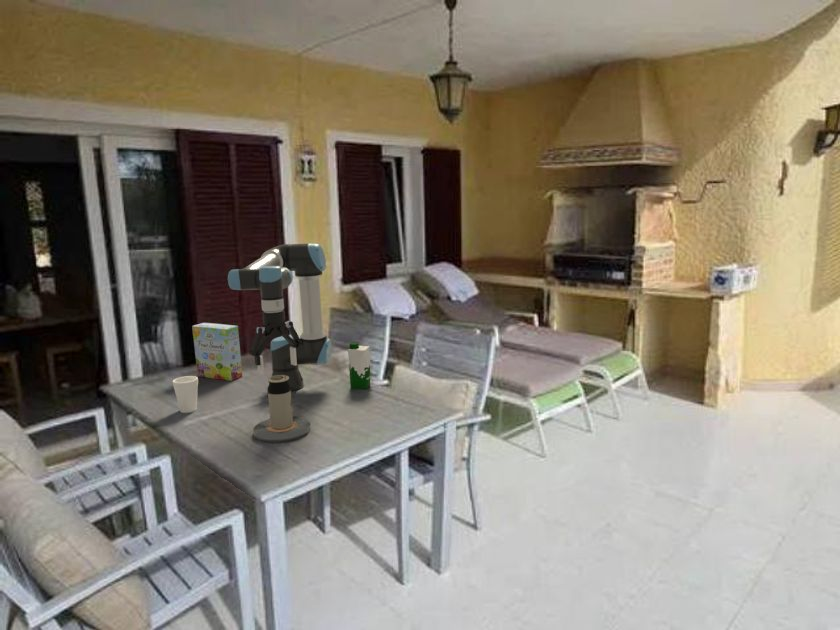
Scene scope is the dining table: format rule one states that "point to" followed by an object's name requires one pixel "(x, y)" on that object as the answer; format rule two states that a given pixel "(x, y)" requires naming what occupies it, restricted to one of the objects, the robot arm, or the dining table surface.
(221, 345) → the snack box
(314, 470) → the dining table surface
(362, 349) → the soya milk
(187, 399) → the foam cup
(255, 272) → the robot arm
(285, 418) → the travel mug
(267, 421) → the grey flat disc
